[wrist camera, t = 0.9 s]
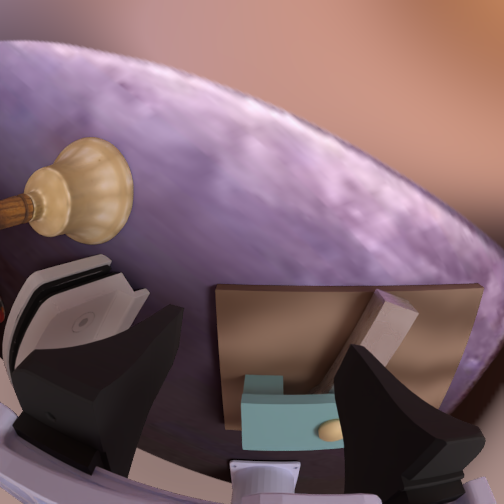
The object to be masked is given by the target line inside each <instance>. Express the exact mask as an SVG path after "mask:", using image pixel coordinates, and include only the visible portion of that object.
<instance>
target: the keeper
mask: <svg viewBox="0 0 504 504" xmlns="http://www.w3.org/2000/svg"><path fill="white" fill-rule="evenodd" d="M241 418H242V446H243V450H268V451H295V450H320V449H335V448H344V442H343V436H342V431H341V426H340V421H339V416H338V412H337V407H336V402H335V395H334V394H312V395H284V394H283V376H274V375H245V381H244V389H243V394H242V399H241Z"/></svg>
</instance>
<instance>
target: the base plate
mask: <svg viewBox="0 0 504 504" xmlns="http://www.w3.org/2000/svg"><path fill="white" fill-rule="evenodd" d="M376 289H379V290H382V291H384V292H387V293H390V294H392V295H395V296H397V297H400V298H403V299H405V300H408V301H409V302H410V303H411V304H412V306H413V307H414V308H415V309H416V310H417V312H418V313H419V314H418V316H417V318H416V319H415V321H414V323H413V324H412V326H411V328H410V329H409V331H408V333H407V334H406V336H405V337H404V339H403V341H402V342H401V344H400V345H399V347H398V348H397V350H396V351H395V353H394V355H393V356H392V357H391V359H390V360H389V362H388V363H387V365H386V366H385V367H386V368H387V369H388V370H389V371H390V372H391V373H392V374H393V375H394V376H395V377H396V378H397V379H398V380H399V381H400V382H401V383H402V384H404V385H405V386H406V387H407V388H408V389H409V390H411V391H412V392H413V393H414V394H416V395H417V396H418V397H420V398H421V399H422V400H424V401H425V402H427V403H428V404H430V405H432V406H433V407H435V408H437V409H439V407H440V405H441V403H442V401H443V398H444V396H445V394H446V392H447V390H448V388H449V386H450V384H451V381H452V379H453V377H454V375H455V372H456V370H457V367H458V365H459V363H460V360H461V358H462V355H463V352H464V350H465V347H466V344H467V342H468V339H469V336H470V333H471V330H472V327H473V324H474V321H475V318H476V315H477V312H478V308H479V305H480V301H481V298H482V294H483V290H484V287H482V286H481V285H480V284H478V283H474V284H447V285H408V286H275V285H233V284H217V287H216V289H215V295H216V313H217V330H218V346H219V360H220V373H221V386H222V398H223V410H224V421H225V429H227V430H242V418H241V399H242V394H243V389H244V381H245V375H274V376H283V394H284V395H307V393H308V392H309V391H310V390H311V389H312V388H313V387H315V386H317V385H319V384H320V383H321V381H322V380H323V378H324V377H325V375H326V374H327V372H328V371H329V369H330V368H331V366H332V365H333V363H334V361H335V360H336V358H337V357H338V355H339V353H340V352H341V350H342V348H343V347H344V345H345V344H346V342H347V340H348V338H349V337H350V335H351V333H352V332H353V330H354V328H355V327H356V325H357V323H358V321H359V319H360V318H361V316H362V314H363V312H364V311H365V309H366V307H367V305H368V303H369V301H370V299H371V298H372V296H373V294H374V292H375V290H376Z"/></svg>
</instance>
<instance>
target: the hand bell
mask: <svg viewBox="0 0 504 504" xmlns="http://www.w3.org/2000/svg"><path fill="white" fill-rule="evenodd" d="M132 203H133V180H132V175H131V172H130V169H129V166H128V164H127V162H126V160H125V158H124V157H123V155H122V154H121V153H120V151H119V150H118V149H117V148H116V147H115V146H114V145H112V144H111V143H109V142H107V141H105V140H103V139H100V138H95V137H88V138H82V139H79V140H76V141H74V142H73V143H71V144H70V145H68V146H67V147H66V148H65V149H64V150H63V151H62V152H61V153H60V154H59V156H58V157H57V159H56V160H55V162H54V164H53V165H50V166H47V167H43V168H41V169H39V170H37V171H36V172H34V173H33V174H32V176H31V177H30V178H29V180H28V182H27V184H26V187H25V190H24V194H19V195H17V196H12V197H9V198H6V199H3V200H0V230H2V229H5V228H8V227H12V226H15V225H19V224H23V223H27V222H29V223H30V225H31V226H32V228H33V229H34V230H35V231H36V232H38V233H39V234H41V235H43V236H46V237H54V236H57V235H61V234H66V235H67V236H69V237H70V238H72V239H74V240H75V241H78V242H80V243H84V244H92V245H94V244H101V243H104V242H107V241H109V240H110V239H112V238H113V237H114V236H116V235H117V234H118V233H119V232H120V230H121V229H122V228H123V227H124V225H125V223H126V222H127V220H128V217H129V215H130V212H131V209H132Z"/></svg>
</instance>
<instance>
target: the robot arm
mask: <svg viewBox="0 0 504 504" xmlns="http://www.w3.org/2000/svg"><path fill="white" fill-rule="evenodd" d="M183 311H184V308H182V307H178V306H174V305H171V304H170V305H168V306H166V307H164V308H163V309H161V310H160V311H158V312H157V313H155V314H154V315H152V316H150V317H149V318H147V319H145V320H144V321H142V322H140V323H139V324H137V325H135V326H133V327H131V328H129V329H127V330H125V331H123V332H121V333H118V334H116V335H113V336H111V337H108V338H105V339H102V340H98V341H95V342H91V343H87V344H83V345H78V346H73V347H66V348H57V349H34V350H33V351H32V352H31V353H30V354H29V355H28V356H27V357H26V358H25V359H24V360H23V361H22V362H21V363H20V364H19V365H18V366H17V367H16V369H15V370H14V371H13V372H12V384H13V387H14V390H15V393H16V395H17V398H18V400H19V403H20V405H21V407H22V410H23V412H22V413H21V415H20V416H19V417H18V416H17V415H16V414H15V412H14V411H12V410H11V409H10V408H8V407H7V406H6V405H4V404H3V403H1V402H0V487H1V488H2V489H4V490H5V491H6V492H8V493H9V494H11V495H12V496H13V497H15V498H16V499H17V500H19V501H20V502H22V503H23V504H222V503H216V502H211V501H206V500H201V499H197V498H192V497H188V496H184V495H180V494H176V493H172V492H169V491H165V490H162V489H158V488H155V487H152V486H148V485H145V484H142V483H139V482H136V481H133V480H131V479H128V474H129V471H130V467H131V464H132V461H133V457H134V454H135V451H136V448H137V444H138V441H139V438H140V435H141V432H142V429H143V427H144V424H145V421H146V418H147V415H148V413H149V410H150V408H151V406H152V403H153V401H154V399H155V398H156V396H157V394H158V392H159V390H160V388H161V386H162V384H163V382H164V380H165V378H166V376H167V374H168V372H169V370H170V368H171V366H172V364H173V361H174V359H175V356H176V353H177V350H178V347H179V341H180V333H181V326H182V318H183ZM334 395H335V402H336V407H337V412H338V416H339V421H340V426H341V431H342V436H343V442H344V455H345V491H344V494H295V493H294V489H295V485H296V481H297V477H298V473H299V469H300V462H298V461H292V462H269V461H243V460H231V461H230V472H231V480H232V489H233V492H232V500H231V504H497V503H496V500H495V498H494V496H493V493H492V491H491V489H490V486H489V484H488V482H487V479H486V477H481V478H477V479H474V480H471V481H468V482H466V483H465V484H463V485H462V482H461V480H460V479H462V478H464V473H463V469H464V468H465V467H466V466H467V465H468V464H469V463H470V462H471V461H472V460H473V459H474V458H475V457H476V456H477V455H478V454H479V453H480V452H481V450H482V449H483V447H484V445H485V437H484V436H483V434H482V432H481V430H480V429H479V427H477V426H474V425H472V424H469V423H466V422H463V421H461V420H458V419H456V418H454V417H452V416H450V415H447V414H446V413H444V412H442V411H440V410H438V409H437V408H435V407H433V406H432V405H430V404H428V403H427V402H425V401H424V400H422V399H421V398H420V397H418V396H417V395H416V394H414V393H413V392H412V391H411V390H409V389H408V388H407V387H406V386H405V385H404V384H402V383H401V382H400V381H399V380H398V379H397V378H396V377H395V376H394V375H393V374H392V373H391V372H390V371H389V370H388V369H387V368H386V367H385V366H384V365H383V364H382V363H381V362H380V361H379V360H378V359H377V358H376V357H375V356H374V355H373V354H372V353H371V352H370V351H368V350H367V349H366V348H365V347H364V346H361V345H355V344H350V346H349V348H348V350H347V353H346V355H345V357H344V359H343V361H342V363H341V365H340V367H339V369H338V371H337V373H336V375H335V377H334Z"/></svg>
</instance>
